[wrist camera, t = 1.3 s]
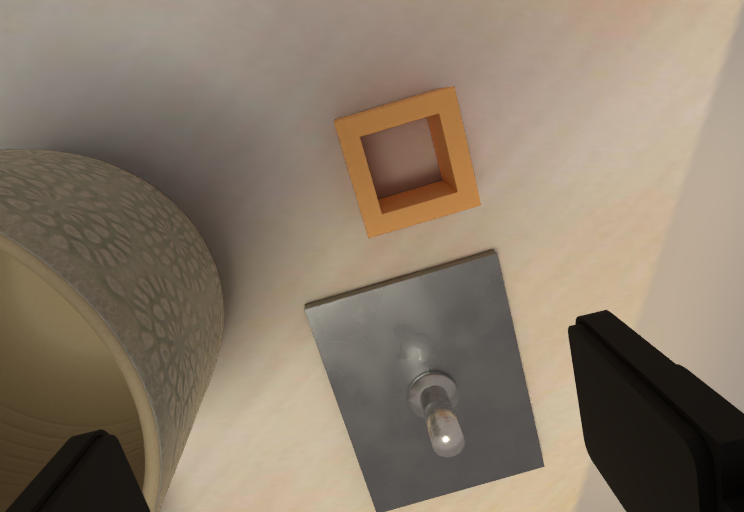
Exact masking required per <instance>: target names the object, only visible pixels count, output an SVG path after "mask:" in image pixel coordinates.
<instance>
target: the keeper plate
mask: <svg viewBox="0 0 744 512" xmlns="http://www.w3.org/2000/svg"><path fill="white" fill-rule="evenodd" d="M304 311H305V313H306V316H307V319H308V322H309V325H310V327H311V330H312V333H313V336H314V339H315V341H316V344H317V347H318V350H319V353H320V355H321V358H322V361H323V364H324V367H325V369H326V372H327V375H328V378H329V381H330V383H331V386H332V389H333V392H334V395H335V397H336V400H337V403H338V406H339V409H340V411H341V414H342V417H343V420H344V423H345V426H346V428H347V431H348V434H349V437H350V440H351V442H352V445H353V448H354V451H355V454H356V456H357V459H358V462H359V465H360V468H361V470H362V473H363V476H364V479H365V482H366V484H367V487H368V490H369V493H370V496H371V498H372V501H373V504H374V507H375V510H376V512H385V511H389V510H393V509H396V508H400V507H403V506H407V505H410V504H414V503H417V502H421V501H424V500H428V499H431V498H435V497H439V496H442V495H446V494H449V493H453V492H456V491H460V490H463V489H467V488H470V487H474V486H477V485H481V484H485V483H488V482H492V481H495V480H499V479H502V478H506V477H509V476H513V475H516V474H520V473H523V472H527V471H531V470H534V469H538V468H541V467H544V462H543V458H542V453H541V449H540V444H539V440H538V435H537V431H536V426H535V422H534V417H533V413H532V408H531V404H530V399H529V395H528V390H527V386H526V381H525V377H524V372H523V368H522V363H521V359H520V354H519V350H518V345H517V341H516V336H515V332H514V327H513V323H512V318H511V314H510V309H509V305H508V300H507V296H506V291H505V287H504V282H503V277H502V273H501V268H500V264H499V259H498V255H497V253H496V252H495V251H494V250H491V251H487V252H484V253H480V254H477V255H473V256H470V257H467V258H463V259H460V260H456V261H453V262H450V263H446V264H443V265H439V266H436V267H433V268H429V269H426V270H422V271H419V272H415V273H412V274H409V275H405V276H402V277H398V278H395V279H392V280H388V281H385V282H381V283H378V284H374V285H371V286H368V287H364V288H361V289H357V290H354V291H351V292H347V293H344V294H340V295H337V296H333V297H330V298H327V299H323V300H320V301H316V302H313V303H310V304H306V305H305V308H304Z"/></svg>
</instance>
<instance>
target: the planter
mask: <svg viewBox="0 0 744 512" xmlns="http://www.w3.org/2000/svg"><path fill="white" fill-rule="evenodd" d="M223 325H224V302H223V294H222V288H221V283H220V279H219V275H218V272H217V269H216V266H215V263H214V260H213V258H212V256H211V253H210V251H209V249H208V247H207V245H206V244H205V242H204V240H203V238H202V237H201V235H200V234H199V232H198V231H197V229H196V228H195V227H194V225H193V224H192V223H191V221H190V220H189V219H188V218H187V217H186V215H185V214H184V213H183V212H182V211H181V210H180V209H179V208H178V207H177V206H176V205H175V204H174V203H173V202H172V201H171V200H170V199H168V198H167V197H166V196H165V195H164V194H162V193H161V192H160V191H159V190H157V189H156V188H154V187H153V186H152V185H150V184H149V183H147V182H145V181H144V180H142V179H140V178H139V177H137V176H135V175H133V174H131V173H129V172H127V171H125V170H123V169H121V168H118V167H116V166H114V165H111V164H109V163H106V162H103V161H100V160H97V159H94V158H90V157H86V156H82V155H77V154H72V153H66V152H59V151H50V150H0V512H5V511H6V510H7V509H8V508H9V506H10V505H11V504H12V503H13V502H14V501H15V500H16V498H17V497H18V496H19V495H20V494H21V493H22V492H23V490H24V489H25V488H26V487H27V486H28V485H29V484H30V483H31V481H32V480H33V479H34V478H35V477H36V476H37V475H38V473H39V472H40V471H41V470H42V469H43V468H44V467H45V465H46V464H47V463H48V462H49V461H50V460H51V459H52V457H53V456H54V455H55V454H56V453H57V452H58V451H59V449H60V448H61V447H62V446H63V445H64V444H65V443H66V442H67V440H68V439H69V438H71V437H72V436H75V435H79V434H84V433H88V432H92V431H96V430H100V429H102V430H105V431H106V432H108V433H109V435H110V434H112V435H115V436H116V437H117V439H118V440H119V442H120V444H121V447H122V449H123V451H124V453H125V456H126V458H127V460H128V462H129V464H130V467H131V469H132V471H133V473H134V475H135V478H136V480H137V482H138V484H139V487H140V489H141V491H142V493H143V495H144V498H145V500H146V502H147V504H148V506H149V509H150V511H151V512H158V511H159V509H160V507H161V504H162V502H163V500H164V498H165V495H166V493H167V490H168V488H169V485H170V483H171V480H172V478H173V475H174V473H175V470H176V468H177V465H178V463H179V460H180V458H181V455H182V452H183V450H184V447H185V445H186V442H187V439H188V437H189V434H190V431H191V429H192V426H193V423H194V420H195V418H196V415H197V412H198V410H199V407H200V404H201V402H202V399H203V397H204V394H205V392H206V390H207V387H208V385H209V382H210V380H211V377H212V375H213V372H214V368H215V365H216V361H217V357H218V353H219V349H220V346H221V341H222V335H223Z"/></svg>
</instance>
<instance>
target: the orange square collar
mask: <svg viewBox="0 0 744 512" xmlns="http://www.w3.org/2000/svg"><path fill="white" fill-rule="evenodd" d="M425 117H427V120H428V124H429V128H430V132H431V136H432V140H433V144H434V148H435V152H436V156H437V160H438V164H439V169H440V173H441V177H442V181H439V182H436V183H432V184H429V185H425V186H422V187H419V188H415V189H412V190H409V191H405V192H402V193H398V194H395V195H392V196H388V197H385V198H382V199H377V195H376V192H375V188H374V185H373V181H372V178H371V174H370V171H369V167H368V164H367V160H366V157H365V153H364V150H363V146H362V143H361V139H360V137H362V136H365V135H368V134H372V133H375V132H378V131H382V130H385V129H388V128H392V127H395V126H398V125H402V124H405V123H408V122H412V121H415V120H418V119H422V118H425ZM334 124H335V128H336V131H337V134H338V138H339V141H340V144H341V148H342V151H343V154H344V158H345V161H346V164H347V168H348V171H349V174H350V178H351V181H352V184H353V188H354V191H355V194H356V198H357V201H358V204H359V208H360V211H361V214H362V218H363V221H364V224H365V228H366V231H367V234H368V238H371V237H375V236H378V235H381V234H385V233H388V232H392V231H395V230H398V229H402V228H405V227H409V226H412V225H415V224H419V223H422V222H426V221H429V220H432V219H436V218H439V217H442V216H446V215H449V214H453V213H456V212H459V211H463V210H466V209H470V208H473V207H476V206H480V205H481V202H480V198H479V194H478V189H477V185H476V180H475V176H474V171H473V167H472V162H471V158H470V154H469V149H468V145H467V140H466V136H465V131H464V127H463V122H462V118H461V114H460V109H459V105H458V100H457V96H456V91H455V87H454V86H453V87H446V88H439V89H435V90H432V91H429V92H425V93H422V94H419V95H415V96H412V97H409V98H405V99H402V100H399V101H395V102H392V103H389V104H385V105H382V106H379V107H375V108H372V109H369V110H365V111H362V112H359V113H355V114H352V115H349V116H345V117H342V118H339V119H336V120H334Z"/></svg>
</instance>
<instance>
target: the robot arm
mask: <svg viewBox="0 0 744 512" xmlns="http://www.w3.org/2000/svg"><path fill="white" fill-rule="evenodd" d="M568 336H569V342H570V349H571V356H572V362H573V369H574V376H575V382H576V389H577V395H578V402H579V409H580V415H581V422H582V429H583V435H584V441H585V445H586V449H587V451H588V454H589V456H590V458H591V460H592V461H593V463H594V464H595V466H596V467H597V469H598V470H599V472H600V473H601V475H602V476H603V478H604V479H605V481H606V482H607V484H608V485H609V487H610V488H611V489H612V491H613V493H614V494H615V496H616V497H617V498H618V500H619V502H620V503H621V504H622V506H623V507H624V509H625V510H626V512H744V414H743V413H742V412H741V411H739V410H738V409H737V408H736V407H735V406H733V405H732V404H731V403H730V402H728V401H727V400H726V399H724V398H723V397H722V396H721V395H719V394H718V393H717V392H715V391H714V390H713V389H712V388H710V387H709V386H708V385H706V384H705V383H704V382H703V381H701V380H700V379H699V378H698V377H696V376H695V375H694V374H693V373H691V372H690V371H689V370H687V369H686V368H684V367H683V366H681V365H677V364H675V363H674V362H672V361H671V360H670V359H669V358H667V357H666V356H665V355H664V354H662V353H661V352H660V351H659V350H657V349H656V348H655V347H653V346H652V345H651V344H650V343H649V342H647V341H646V340H645V339H644V338H642V337H641V336H640V335H638V334H637V333H636V332H635V331H634V330H632V329H631V328H630V327H628V326H627V325H626V324H625V323H623V322H622V321H621V320H620V319H618V318H617V317H616V316H615V315H613V314H612V313H611V312H610V311H608V310H604V311H600V312H595V313H591V314H587V315H583V316H579V317H577V318H576V325H572V326H569V328H568ZM5 512H151V511H150V509H149V506H148V504H147V502H146V500H145V498H144V495H143V493H142V491H141V489H140V487H139V484H138V482H137V480H136V478H135V475H134V473H133V471H132V469H131V467H130V464H129V462H128V460H127V458H126V456H125V453H124V451H123V449H122V447H121V444H120V442H119V440H118V439H117V437H116V436H115V435H112V434H110V435H109V433H108V432H106V431H105V430H102V429H100V430H96V431H92V432H88V433H84V434H79V435H75V436H72V437H71V438H69V439H68V440H67V442H66V443H65V444H64V445H63V446H62V447H61V448H60V449H59V451H58V452H57V453H56V454H55V455H54V456H53V457H52V459H51V460H50V461H49V462H48V463H47V464H46V465H45V467H44V468H43V469H42V470H41V471H40V472H39V473H38V475H37V476H36V477H35V478H34V479H33V480H32V481H31V483H30V484H29V485H28V486H27V487H26V488H25V489H24V490H23V492H22V493H21V494H20V495H19V496H18V497H17V498H16V500H15V501H14V502H13V503H12V504H11V505H10V506H9V508H8V509H7V510H6V511H5Z"/></svg>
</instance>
